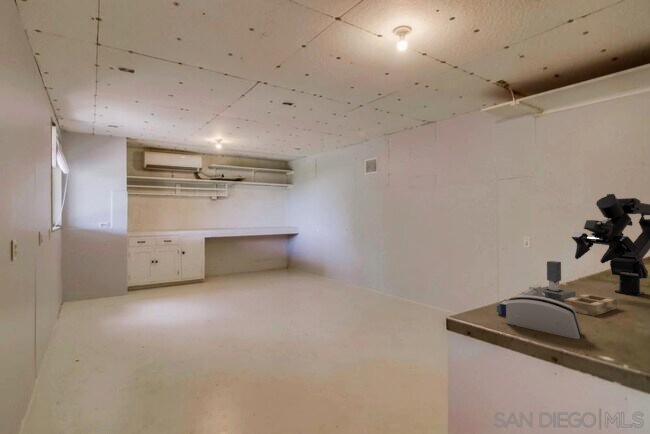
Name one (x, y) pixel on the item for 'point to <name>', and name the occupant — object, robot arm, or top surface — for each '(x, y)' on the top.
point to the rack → (592, 304)
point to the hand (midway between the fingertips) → (588, 260)
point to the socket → (558, 294)
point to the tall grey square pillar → (554, 275)
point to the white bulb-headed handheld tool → (532, 291)
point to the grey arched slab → (543, 315)
